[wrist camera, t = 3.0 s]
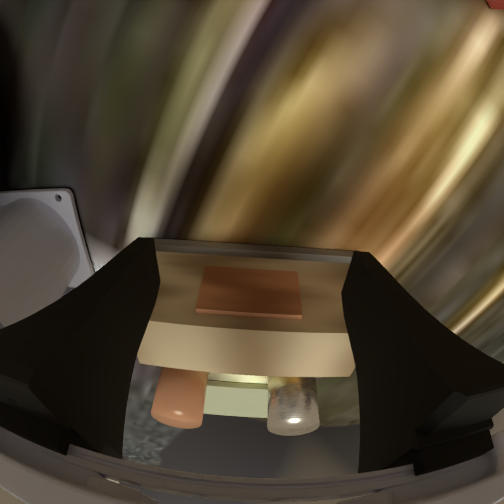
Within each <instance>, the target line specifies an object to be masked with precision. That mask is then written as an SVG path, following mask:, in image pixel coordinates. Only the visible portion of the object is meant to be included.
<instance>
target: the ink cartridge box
mask: <svg viewBox="0 0 504 504" xmlns="http://www.w3.org/2000/svg"><path fill="white" fill-rule="evenodd" d="M486 1H487V3H488V4H489V6H490V8H491V9H504V0H486Z"/></svg>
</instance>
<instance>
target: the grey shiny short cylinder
mask: <svg viewBox="0 0 504 504" xmlns="http://www.w3.org/2000/svg"><path fill="white" fill-rule="evenodd" d="M267 425H268V426H267V428H268V430H269V431H270V432H272V433H274V434H278V435H287V436H291V435H301V434H306V433H309V432H312V431H314V430H316V429H317V428H318V427H319V425H320V424H319V412H318V400H317V390H316V379H315V377H280V376H268V421H267Z"/></svg>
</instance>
